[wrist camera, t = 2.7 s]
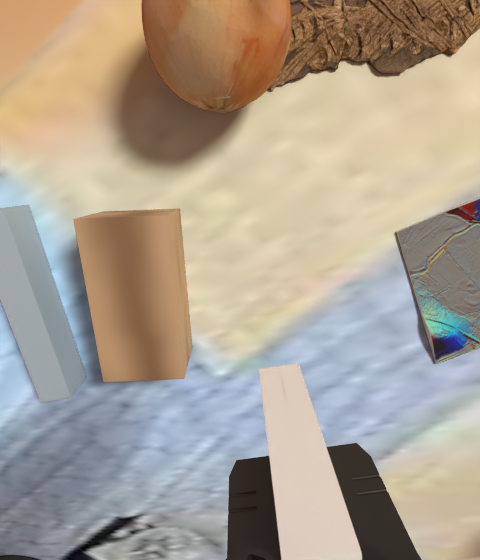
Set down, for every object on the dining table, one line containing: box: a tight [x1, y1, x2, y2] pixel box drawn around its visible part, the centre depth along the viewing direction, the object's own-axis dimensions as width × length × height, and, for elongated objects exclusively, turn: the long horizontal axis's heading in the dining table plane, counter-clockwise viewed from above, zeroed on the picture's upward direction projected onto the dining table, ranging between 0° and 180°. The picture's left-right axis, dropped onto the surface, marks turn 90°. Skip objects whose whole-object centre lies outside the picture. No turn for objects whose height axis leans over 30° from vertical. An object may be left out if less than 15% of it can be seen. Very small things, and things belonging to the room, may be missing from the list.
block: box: [73, 209, 192, 382], centre depth 30 cm, size 7×14×6 cm, turn 2°
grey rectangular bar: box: [0, 205, 87, 402], centre depth 31 cm, size 3×18×4 cm, turn 9°
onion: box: [142, 0, 292, 113], centre depth 22 cm, size 10×10×10 cm
